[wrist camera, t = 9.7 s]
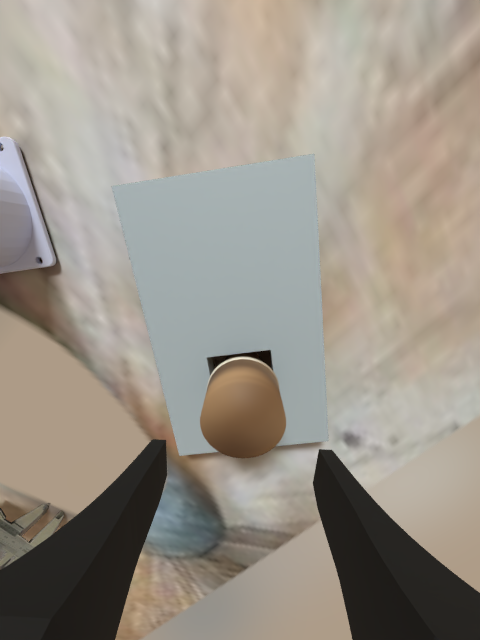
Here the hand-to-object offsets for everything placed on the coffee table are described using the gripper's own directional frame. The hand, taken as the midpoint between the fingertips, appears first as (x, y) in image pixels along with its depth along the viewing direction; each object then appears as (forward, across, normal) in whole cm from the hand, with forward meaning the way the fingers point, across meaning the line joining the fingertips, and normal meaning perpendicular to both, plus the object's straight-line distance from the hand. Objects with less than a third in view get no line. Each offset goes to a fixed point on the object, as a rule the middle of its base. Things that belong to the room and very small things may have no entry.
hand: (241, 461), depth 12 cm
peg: (+9, 0, 0) cm, 9 cm away
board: (+9, +1, -4) cm, 10 cm away
